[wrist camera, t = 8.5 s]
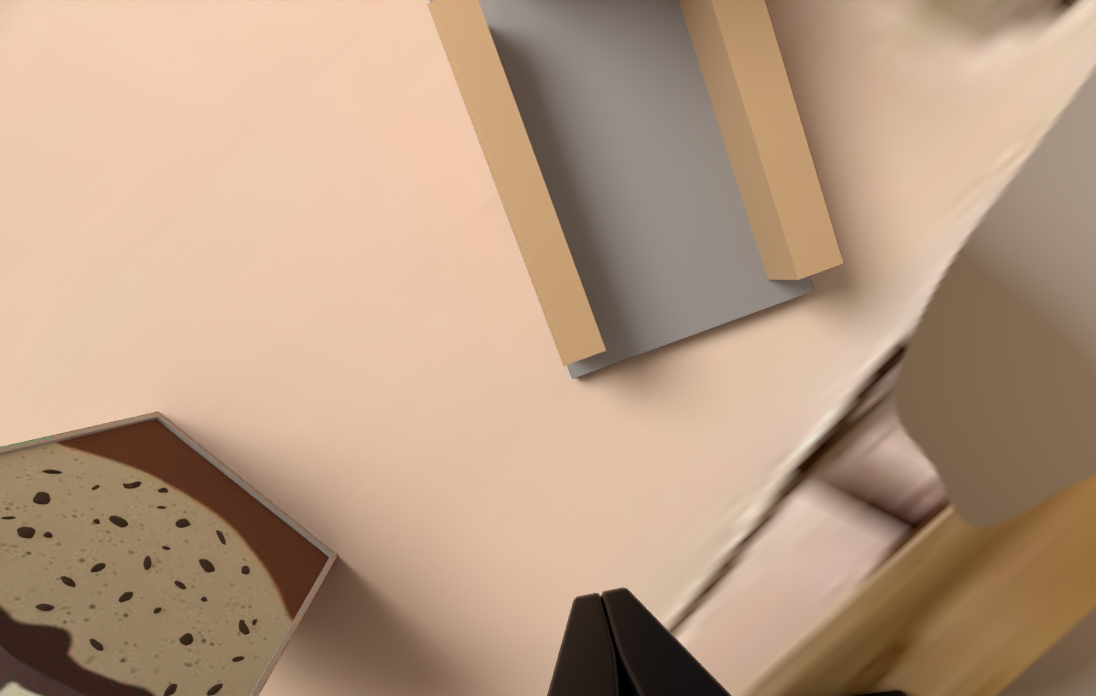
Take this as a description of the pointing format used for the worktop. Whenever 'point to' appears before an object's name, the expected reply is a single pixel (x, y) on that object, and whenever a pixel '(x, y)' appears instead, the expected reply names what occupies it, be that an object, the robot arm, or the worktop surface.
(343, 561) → the worktop surface
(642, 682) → the robot arm
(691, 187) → the chute
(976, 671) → the worktop surface
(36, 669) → the food container
